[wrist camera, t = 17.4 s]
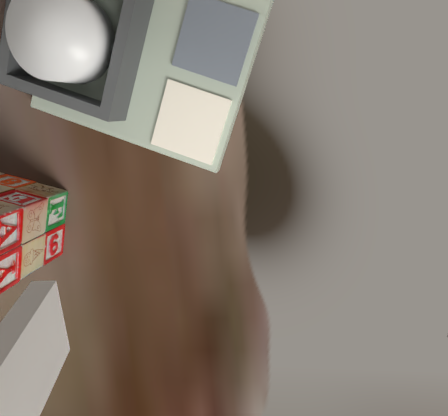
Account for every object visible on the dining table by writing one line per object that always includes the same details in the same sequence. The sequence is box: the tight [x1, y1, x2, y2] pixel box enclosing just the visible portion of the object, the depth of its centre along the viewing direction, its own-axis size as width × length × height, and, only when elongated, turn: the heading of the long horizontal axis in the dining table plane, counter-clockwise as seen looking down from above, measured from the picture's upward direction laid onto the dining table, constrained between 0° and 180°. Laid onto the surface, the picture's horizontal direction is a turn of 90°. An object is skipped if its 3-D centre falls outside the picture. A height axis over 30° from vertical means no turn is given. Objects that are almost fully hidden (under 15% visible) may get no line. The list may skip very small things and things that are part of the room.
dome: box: [5, 0, 115, 84], centre depth 27 cm, size 6×6×4 cm
